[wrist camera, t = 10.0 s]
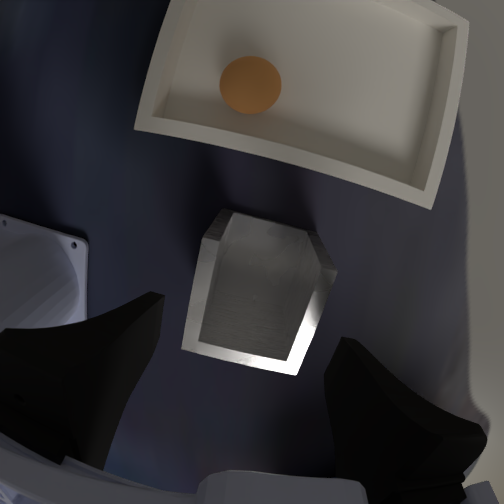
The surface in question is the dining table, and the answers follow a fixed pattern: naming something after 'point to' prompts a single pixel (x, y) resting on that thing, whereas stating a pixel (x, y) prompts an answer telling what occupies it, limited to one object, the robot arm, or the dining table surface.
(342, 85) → the tray
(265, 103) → the ball
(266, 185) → the dining table surface
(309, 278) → the silver open box
